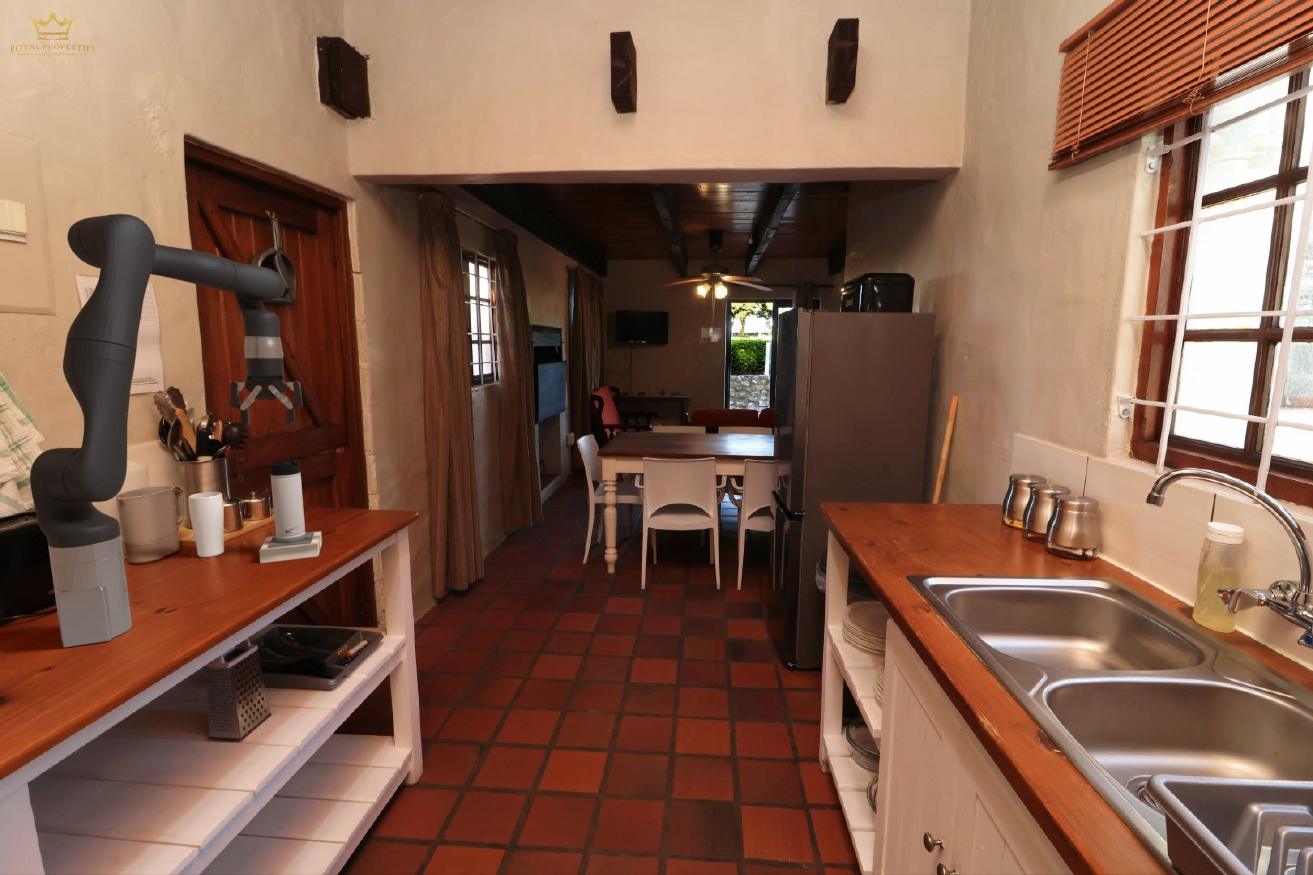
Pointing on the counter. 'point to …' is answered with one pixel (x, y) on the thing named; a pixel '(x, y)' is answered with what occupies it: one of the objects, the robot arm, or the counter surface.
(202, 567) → the counter surface
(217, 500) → the white tall cylinder
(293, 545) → the base
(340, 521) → the counter surface
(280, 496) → the travel mug
